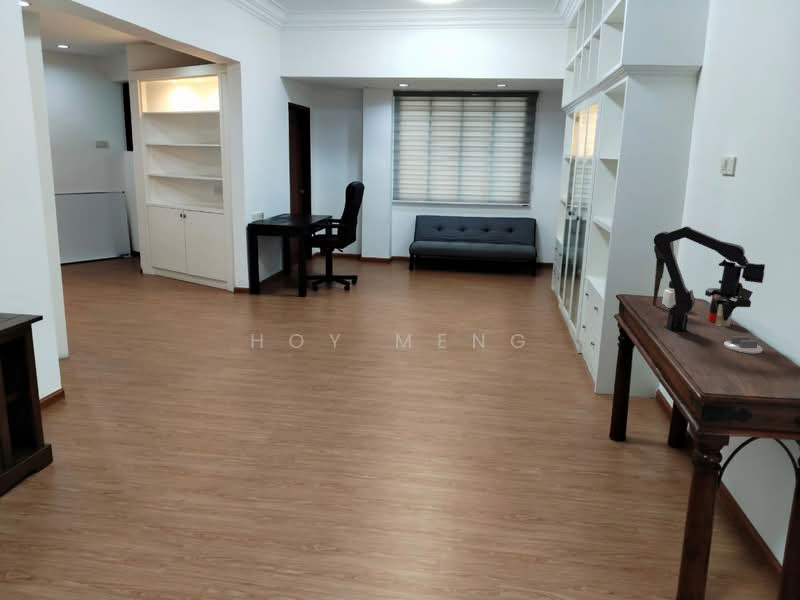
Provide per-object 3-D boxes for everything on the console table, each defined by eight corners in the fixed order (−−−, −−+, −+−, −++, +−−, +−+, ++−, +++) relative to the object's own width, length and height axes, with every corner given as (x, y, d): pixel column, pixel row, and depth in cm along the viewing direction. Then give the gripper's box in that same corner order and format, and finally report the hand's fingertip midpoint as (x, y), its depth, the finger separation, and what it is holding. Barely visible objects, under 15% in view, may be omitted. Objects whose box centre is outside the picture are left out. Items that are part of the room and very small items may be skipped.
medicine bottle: (684, 308, 269) (688, 282, 267) (668, 308, 270) (672, 282, 267) (677, 305, 276) (681, 279, 274) (661, 304, 276) (665, 278, 274)
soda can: (704, 320, 252) (709, 292, 249) (714, 318, 256) (719, 290, 253) (721, 324, 246) (726, 296, 243) (731, 322, 250) (737, 294, 247)
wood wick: (718, 326, 225) (722, 305, 223) (715, 324, 227) (718, 304, 225) (729, 326, 226) (733, 305, 224) (726, 324, 228) (729, 304, 226)
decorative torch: (659, 307, 269) (669, 241, 262) (643, 304, 274) (653, 239, 266) (664, 305, 274) (674, 240, 267) (648, 302, 279) (658, 238, 271)
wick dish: (738, 353, 209) (740, 344, 208) (716, 342, 220) (718, 333, 219) (769, 353, 210) (771, 344, 209) (746, 343, 222) (748, 333, 221)
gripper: (768, 285, 214) (760, 326, 218) (734, 274, 232) (727, 313, 236) (739, 284, 213) (731, 326, 217) (707, 273, 231) (700, 313, 235)
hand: (723, 319), depth 226 cm, fingers closed on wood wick, 2 cm apart
